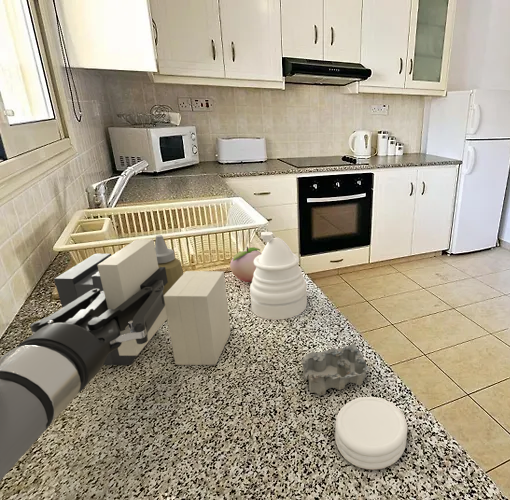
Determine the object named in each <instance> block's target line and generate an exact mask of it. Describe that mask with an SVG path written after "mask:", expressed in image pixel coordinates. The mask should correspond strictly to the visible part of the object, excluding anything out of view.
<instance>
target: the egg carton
mask: <svg viewBox="0 0 510 500" xmlns="http://www.w3.org/2000/svg"><path fill="white" fill-rule="evenodd" d="M300 362H301V364H302V376H303V379H304V381H306V380H308V391H309V393H310V394H317V395H318V396H324V395H326V394H327V393H326V392H327V390H330V389H336V390H338V391H341V390H344V389H345V387H346V385H348V384H355V385H356V386H361V385H363V383H364V380H365V379H366V378H367V373H368V371H369V372H370V371H371V370H370V369H371V368H370V367H369V366H368V365H367V361H366V360H365V359H364V357H363V355H362V353H361V351H360V350H359V349H358V347H357V345H356V344H355V343H352V344H349V345H347V346H343V347H338V348H337V349H336V348H335V347H333V348H330V349H327V350H322V351H319V352H313V351H312V352H308V353H307V354H306V355H305V356H304V357H302V358H301V360H300Z"/></svg>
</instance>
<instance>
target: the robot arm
mask: <svg viewBox="0 0 510 500" xmlns="http://www.w3.org/2000/svg"><path fill="white" fill-rule="evenodd" d="M167 283H168V280H167V275H166V269H165V267H160V268H159V269H158V270H157V271H155V272H154V273H153V274H152V275H151V276H150V277H149V278H148V279H147V280H145V281H144V282H143V283H142V284H141V285H140V288H141V290H140V291H139V292H137V293H136V294H135V295H133V296H132V297H131V298H129V299H128V300H126V301H125V302H124V303H122V304H121V305H120V306H118V307H117V308H116V309H109V310H108V307H107V302H106V298H105V294H104V291H100V289H92V290H90V291H89V292H87V293H85V294H84V295H82V296H81V297H79V298H77V299H76V300H74V301H73V302H71V303H69V304H68V305H66V306H65V307H63V308H62V307H61V308H59V309H58V310H57V311H55V312H53V313H52V314H50V315H49V316H46V317H43V318H42V319H39V320H37V321H34V322H32V323H31V324H30V325H29V326H30V329H31V333H32V334H31V335H30V336H29V337H27V338H26V339H25V340H22V342H20V343H19V344H17V346H16V347H15V348H12V349H10V350H9V351H7V352H6V353H4V355H2V356H1V357H0V482H1V481H2V480H3V478H4V477H5V476H6V475H7V474H8V473H9V472H10V471H11V469H13V467H14V466H15V465H16V464H17V463H18V461H20V459H22V458H23V456H24V455H25V454H26V453H27V452H28V450H30V448H31V447H32V446H33V445H34V444H35V443H36V442H37V440H38V439H39V438H40V437H41V436H42V434H44V433H45V431H46V430H47V429H48V428H49V427H50V425H52V424H53V422H55V420H56V419H57V418H58V417H59V416H60V415H61V414H62V412H64V410H65V409H66V408H67V407H68V406H69V405H70V404H71V403H72V402H73V401H74V400H75V398H76V397H77V396H78V394H80V392H82V391H83V390H84V389H85V388H86V386H87V385H88V384H90V382H91V381H92V380H93V379H94V378H95V377H96V376H97V374H98V373H99V372H100V371H101V370H102V368H103V366H104V365H103V364H104V362H105V359H106V357H107V355H108V354H109V353H110V352H112V351H113V350H115V349H117V348H119V347H120V346H121V344H122V342H125V341H130V340H135V339H136V342H137V344H143V343H146V342H147V341H148V331H149V330H150V328H151V327H152V325H153V324H154V322H155V320H156V319H157V317H158V316H159V314H160V313H161V311H162V310H163V308H164V306H165V301H164V295H163V290H164V286H165V285H166V284H167ZM91 299H92V303H91V302H90V300H91ZM128 325H129V326H128ZM127 326H128V327H127ZM126 327H127V328H126ZM125 328H126V329H125Z"/></svg>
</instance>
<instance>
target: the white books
mask: <svg viewBox="0 0 510 500" xmlns="http://www.w3.org/2000/svg"><path fill="white" fill-rule="evenodd" d="M183 273H184V274H183V275H182V276H181V277H180V278H179V279H178V280H177V282H176V283H175V284H174V285H173V286H172V287H171V288H170V289H169V290H168V291H167V292H166V294H165V295H164V301H165V306H166V312H167V319H166V321H167V325H168V331H169V336H170V343H171V347H172V353H173V359H174V364H175V366H181V365H182V366H216V365H217V363H218V361H219V359H220V357H221V355H222V353H223V350H224V348H225V346H226V344H227V342H228V340H229V337H230V336H231V333H232V332H231V324H230V323H231V322H230V315H229V313H230V312H229V306H228V305H229V304H228V295H227V286H226V278H225V277H226V276H225V271H223V270H221V271H219V270H218V271H217V270H215V271H214V270H186V271H185V272H183Z"/></svg>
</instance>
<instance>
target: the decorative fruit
mask: <svg viewBox="0 0 510 500" xmlns="http://www.w3.org/2000/svg"><path fill="white" fill-rule="evenodd" d="M261 253H262V252H261V249H260V248H259V247H253V246H252V247H248V245H247V246H246V248H245V249H244V250H242V251H239V252H236V254H234V256H233V257H232V258H231V260H230V264H229V268H230V272H231V273H232V274H233V276H234V277H235V278H236V279H238V280H240V281H242V282H245V283H252V279H253V277H254V275H253V274H254V271H255V270H256V266H255V265H254V259H255V258H256V257H257V256H258V255H261Z"/></svg>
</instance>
